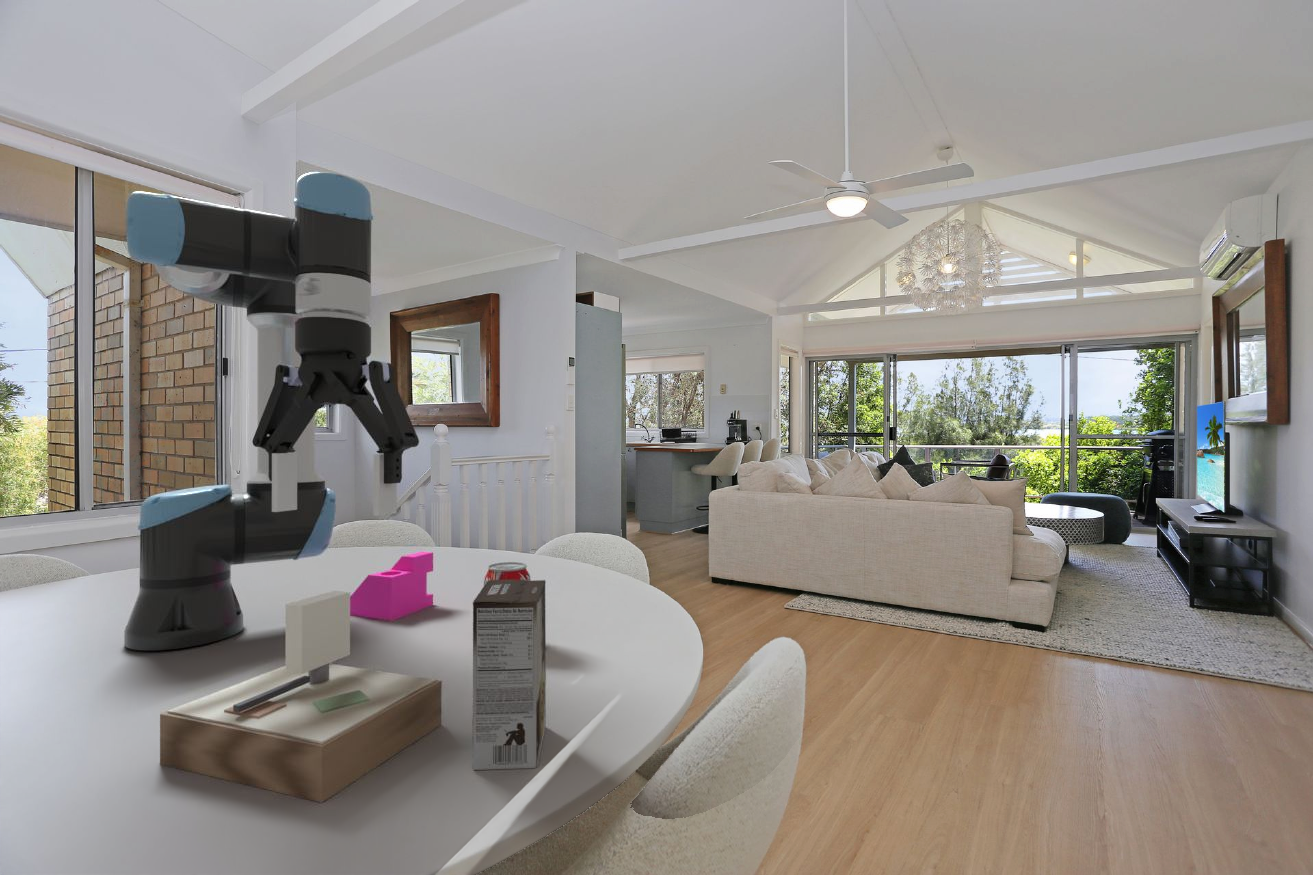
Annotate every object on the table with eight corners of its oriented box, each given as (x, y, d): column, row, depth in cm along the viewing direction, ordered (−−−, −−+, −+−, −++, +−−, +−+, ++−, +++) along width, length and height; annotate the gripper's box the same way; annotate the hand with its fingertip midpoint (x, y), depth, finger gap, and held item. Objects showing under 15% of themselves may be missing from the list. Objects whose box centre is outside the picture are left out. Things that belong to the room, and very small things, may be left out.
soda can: (519, 653, 93) (519, 571, 93) (474, 650, 95) (474, 569, 95) (537, 639, 100) (538, 562, 100) (495, 636, 102) (496, 560, 102)
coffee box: (486, 728, 69) (487, 578, 69) (547, 726, 70) (547, 578, 70) (469, 771, 60) (470, 600, 60) (539, 769, 61) (539, 598, 61)
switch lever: (227, 713, 61) (227, 620, 61) (334, 668, 73) (334, 590, 73) (244, 716, 60) (244, 622, 60) (349, 670, 72) (350, 592, 72)
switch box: (159, 763, 62) (160, 709, 62) (301, 699, 77) (301, 656, 77) (321, 802, 55) (322, 741, 55) (441, 724, 70) (441, 676, 70)
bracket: (433, 607, 119) (433, 552, 119) (391, 622, 110) (391, 562, 110) (382, 601, 123) (383, 548, 124) (338, 615, 114) (338, 557, 114)
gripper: (215, 320, 71) (215, 512, 71) (407, 306, 64) (407, 520, 64) (274, 331, 78) (273, 506, 78) (451, 320, 71) (451, 512, 71)
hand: (333, 512), depth 71 cm, fingers open, 13 cm apart
